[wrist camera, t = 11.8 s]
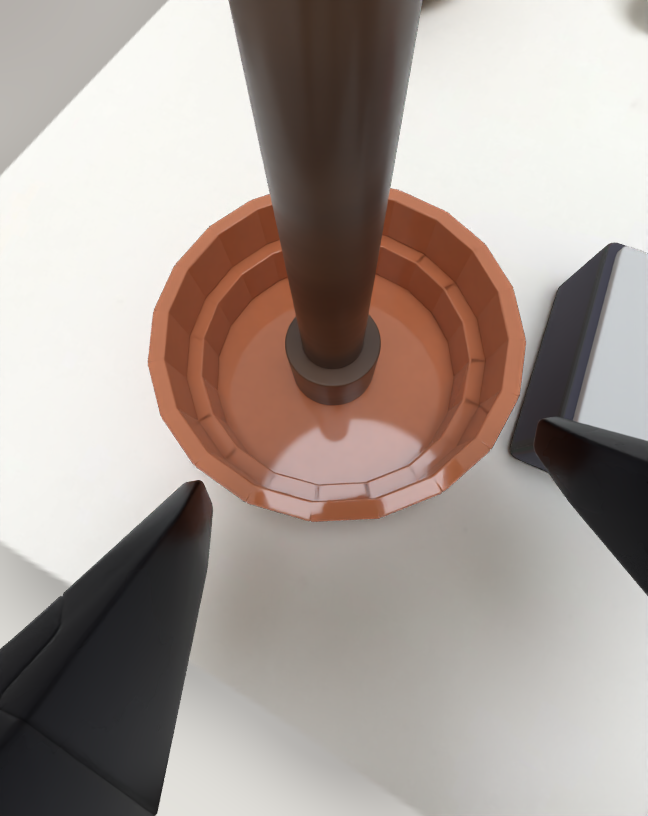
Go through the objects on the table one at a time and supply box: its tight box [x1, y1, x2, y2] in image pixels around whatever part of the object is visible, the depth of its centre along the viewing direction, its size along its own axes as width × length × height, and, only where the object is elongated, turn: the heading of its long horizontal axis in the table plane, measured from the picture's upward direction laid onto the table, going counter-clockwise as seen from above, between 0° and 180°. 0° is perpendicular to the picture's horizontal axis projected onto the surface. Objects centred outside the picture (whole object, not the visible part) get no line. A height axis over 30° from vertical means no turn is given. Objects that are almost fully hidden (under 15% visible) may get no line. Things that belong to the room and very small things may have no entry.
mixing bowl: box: [148, 188, 526, 522], centre depth 16 cm, size 15×15×5 cm
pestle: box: [229, 0, 423, 405], centre depth 11 cm, size 4×4×15 cm
